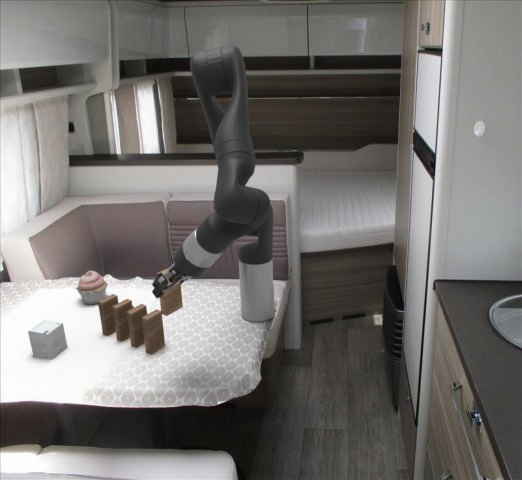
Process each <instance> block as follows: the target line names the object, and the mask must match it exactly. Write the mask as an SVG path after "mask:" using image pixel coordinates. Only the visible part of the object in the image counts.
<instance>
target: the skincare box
mask: <svg viewBox="0 0 522 480" xmlns="http://www.w3.org/2000/svg"><path fill="white" fill-rule="evenodd" d="M27 332H28V333H27V334H28V338H29V343H30V347H31V352H32V356H34V357H37V358H39V357H40V358H44V359H50V360H53V359H54V358H56V357H57V356H58V355H59V354H61V353H62V352H63V351H64V350H65V349H66V348H68V344H67V343H68V342H67V337H66V333H65V327H64V323H63V322H60V321H55V320H49V319H43V320H42V321H40V322H39V323H37V324H36V325H34V326H33V327H31V328H30V329H29V330H27Z"/></svg>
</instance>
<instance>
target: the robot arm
mask: <svg viewBox="0 0 522 480" xmlns="http://www.w3.org/2000/svg"><path fill="white" fill-rule="evenodd" d="M189 66H190V68H189V69H190V73H191V77H192V80H193V85H194V86H195V89H196V92H197V96H198V99H199V101H200V104H201V108H202V110H203V114H204V117H205V120H206V123H207V125H208V131H209V134H210V139H211V143H212V147H213V151H214V152H213V153H214V157H215V160H216V164H217V174H216V175H217V177H216V184H215V185H216V186H215V191H214V195H213V202H212V203H213V209H214V212H212V213H210V214H209V215H207V216H206V217H205V219H204V220H203V221H202V222H201V223H200V224H199V225H198V226H197V228H196V229H195V230H193V231H192V232H191V233H190V234H189V235H188V237H187V238H186V239H184V241H183V242H182V244H180V245H179V247H178V248H177V249H176V251H175V253H174V263H172V264H171V265H170V267H169V268H170V269H168V270H167V271H166V272H165V273H164V274H163V273H159V272H158V273H159V274H158V275H157V274H156V277H155V278H154V280H153V282H152V283H151V285H152V287H153V289H152V291H151V293H152V295H153V296H154V297H155V299H160V297H161V296H162V294H163V293H164V292H165V291H167V289H169V288H170V287H174V286H176V285H177V284H178V283H179V282H180V284H181V285H183V283H184V282H187V281H189V279H191V278H199V277H201V276H203V275H204V274H205V273H206V272H207V271H208V270H209V269H210V268H211V266H213V265H214V263H216V262H217V261H218V259H219V258H220V257H221V256H222V254H223V253H224V252H225V250H227V248H229V246H230V245H231V244H233V242H234V241H237V240H238V239H240V238H242V237H244V236H248V237H249V236H253V237H257V241H254V242H251V243H246V244H244V245H242V246H241V247H240V248H239V249H238V270H239V275H238V276H239V291H240V293H239V295H240V311H241V312H240V313H241V315H240V316H241V317H242V319H244V320H246V321H248V322H253V323H254V322H255V323H260V322H266V321H268V320H270V319H274V318H275V317H276V316H275V315H276V314H275V286H274V275H273V274H274V267H273V247H274V240H273V238H274V236H273V235H274V209H273V206H272V204H271V199H270V197H269V195H268V194H267V192H266V191H264V190H262V189H260V188H256V187H252V186H251V187H250V186H246V185H247V184H248V182H249V180H250V179H251V177H253V175H254V174H255V169H256V165H257V159H256V154H255V149H254V144H253V140H252V137H251V135H250V134H251V133H250V123H249V121H250V120H249V119H250V118H249V92H248V79H247V70H246V69H247V68H246V64H245V61H244V57H243V54H242V51H241V49H240V48H239V47H238V46H237V45H232V44H230V45H229V44H228V45H224V46H219V47H214V48H209V49H203V50H199V51H196V52H193V53H192V54H191V56H190V59H189ZM229 93H232V94H231V98H230V99H231V100H230V102H229V106H228V107H227V110H226V111H225V110H224V109H223V107H222V106H221V105H220V103H219V101H218V99H217V97H216V96H221V95H226V94H229ZM171 278H172V279H173V280H174V281H175V282H173V280H172V279H171ZM167 284H168V285H167ZM166 285H167V286H166Z"/></svg>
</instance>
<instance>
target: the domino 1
mask: <svg viewBox="0 0 522 480" xmlns="http://www.w3.org/2000/svg"><path fill="white" fill-rule="evenodd" d="M118 303H119V297H118V295H117V294H114V293H112V294H109V295H108V296H105V298H103V299H101V300H99V301H98V303H97V305H98V311H99V318H100V324H101V330H102V335H103V336H106V337H109V336H110V335H112V334H114V333H116V330H115V323H114V317H113V310H112V306H114V305H116V304H118Z"/></svg>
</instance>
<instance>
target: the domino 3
mask: <svg viewBox="0 0 522 480" xmlns="http://www.w3.org/2000/svg"><path fill="white" fill-rule="evenodd" d="M147 314H148V309H147V305H146V304H143V303H140V304H139V305H137V306H134V308H133V309H131V310H129V311H127V319H128V327H129V334H130V337H129V340H130V347H131V348H135V349H137V348H139V347H141V346H143V345H145V341H144V333H143V325H142V317H144V316H145V315H147Z"/></svg>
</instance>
